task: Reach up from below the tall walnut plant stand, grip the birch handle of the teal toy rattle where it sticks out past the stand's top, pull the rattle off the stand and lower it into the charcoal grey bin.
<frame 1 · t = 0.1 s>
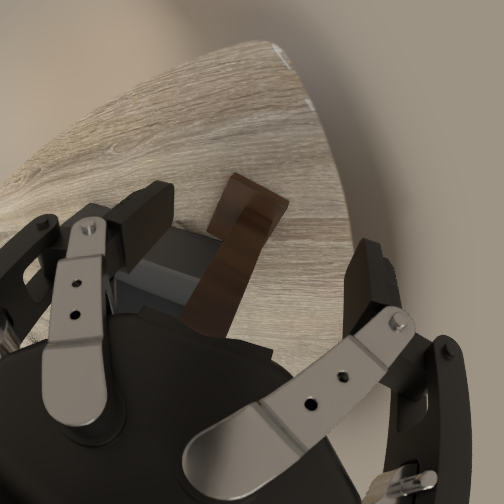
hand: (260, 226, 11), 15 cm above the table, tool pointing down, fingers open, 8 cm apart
stand: (247, 213, 29), on the table
bin: (154, 261, 37), on the table
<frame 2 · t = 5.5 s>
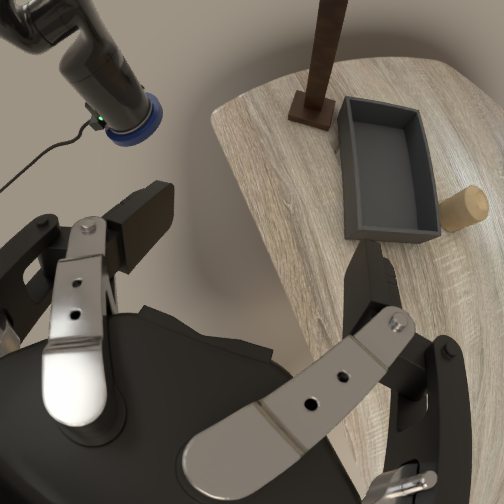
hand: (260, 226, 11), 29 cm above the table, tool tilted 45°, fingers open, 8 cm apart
stand: (311, 112, 43), on the table
bin: (380, 177, 41), on the table
candle: (448, 216, 40), on the table
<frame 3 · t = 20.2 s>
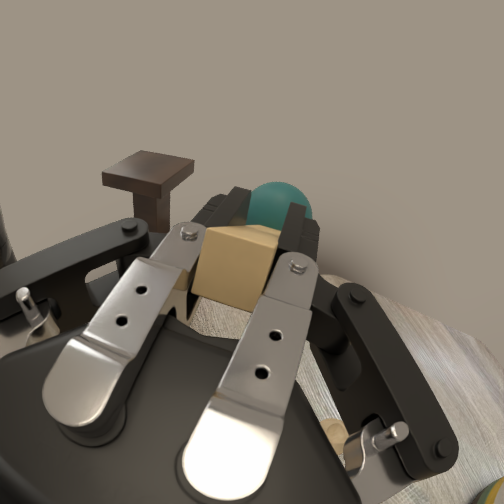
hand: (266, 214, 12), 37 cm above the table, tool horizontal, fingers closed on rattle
stand: (161, 348, 45), on the table
candle: (309, 450, 34), on the table
rattle: (267, 251, 21), point 30 cm above the table, tilted 30°, touching gripper
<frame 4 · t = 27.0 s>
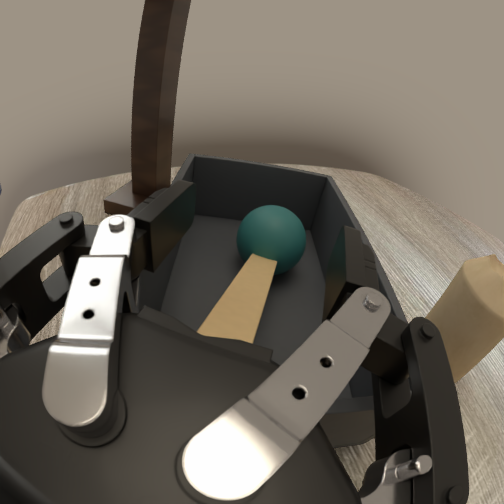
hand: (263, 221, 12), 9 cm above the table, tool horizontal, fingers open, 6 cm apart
stand: (146, 206, 28), on the table
bin: (250, 304, 20), on the table
candle: (423, 368, 17), on the table
rattle: (261, 271, 22), point 1 cm above the table, tilted 23°, touching bin
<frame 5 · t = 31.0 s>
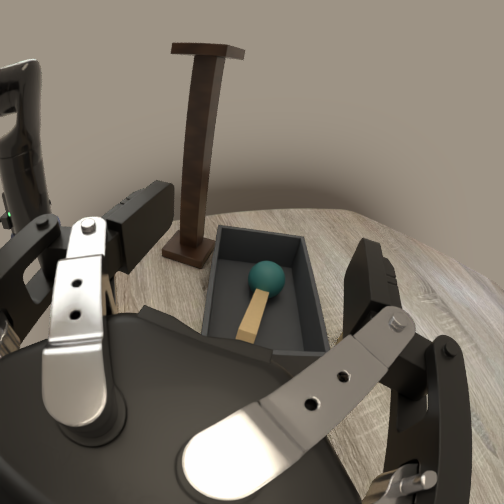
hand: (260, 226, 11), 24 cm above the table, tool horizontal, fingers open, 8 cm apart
stand: (188, 251, 46), on the table
bin: (255, 313, 38), on the table
rattle: (261, 296, 40), point 1 cm above the table, tilted 23°, touching bin
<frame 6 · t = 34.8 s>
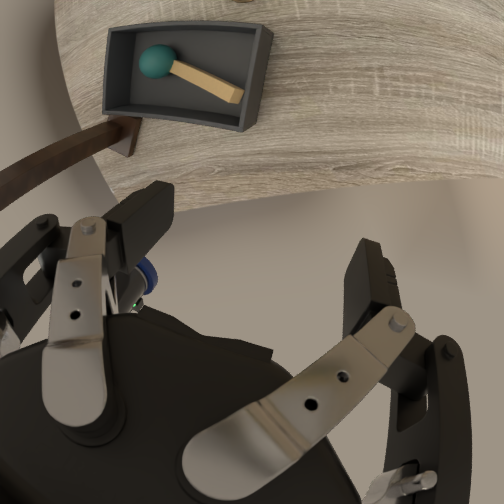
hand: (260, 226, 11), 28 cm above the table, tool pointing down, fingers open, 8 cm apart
stand: (124, 130, 40), on the table
bin: (191, 69, 32), on the table
rattle: (172, 63, 32), point 1 cm above the table, tilted 23°, touching bin
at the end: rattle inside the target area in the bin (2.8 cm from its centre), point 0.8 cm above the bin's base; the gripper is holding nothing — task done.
